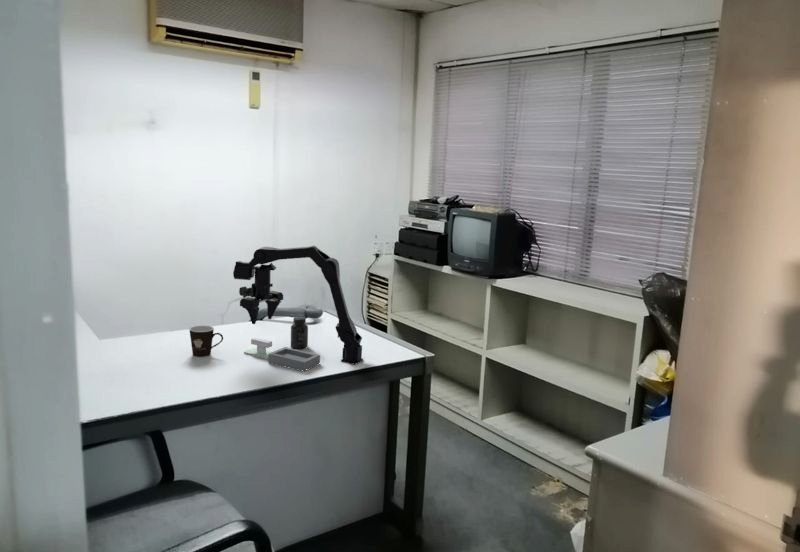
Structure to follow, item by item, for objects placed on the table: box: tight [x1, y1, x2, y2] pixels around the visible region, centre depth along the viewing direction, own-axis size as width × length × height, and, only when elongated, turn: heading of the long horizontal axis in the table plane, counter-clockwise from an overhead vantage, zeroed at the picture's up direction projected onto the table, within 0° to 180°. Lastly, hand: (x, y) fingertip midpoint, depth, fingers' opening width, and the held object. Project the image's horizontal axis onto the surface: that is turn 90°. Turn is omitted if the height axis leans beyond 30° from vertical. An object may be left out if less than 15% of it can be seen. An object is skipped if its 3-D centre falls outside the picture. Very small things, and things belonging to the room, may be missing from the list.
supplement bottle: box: [290, 316, 309, 350], centre depth 241 cm, size 7×7×12 cm
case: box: [267, 346, 321, 372], centre depth 222 cm, size 16×10×4 cm, turn 64°
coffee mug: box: [188, 325, 224, 358], centre depth 225 cm, size 12×9×10 cm
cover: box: [243, 337, 273, 360], centre depth 230 cm, size 12×6×6 cm, turn 63°
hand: (261, 321), depth 228 cm, fingers open, 9 cm apart
